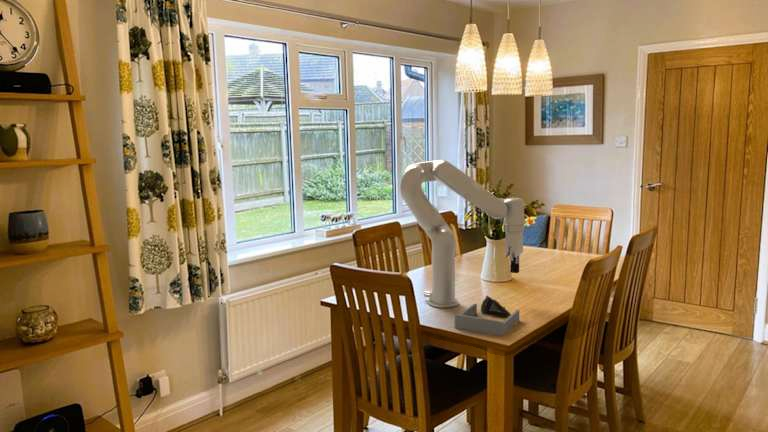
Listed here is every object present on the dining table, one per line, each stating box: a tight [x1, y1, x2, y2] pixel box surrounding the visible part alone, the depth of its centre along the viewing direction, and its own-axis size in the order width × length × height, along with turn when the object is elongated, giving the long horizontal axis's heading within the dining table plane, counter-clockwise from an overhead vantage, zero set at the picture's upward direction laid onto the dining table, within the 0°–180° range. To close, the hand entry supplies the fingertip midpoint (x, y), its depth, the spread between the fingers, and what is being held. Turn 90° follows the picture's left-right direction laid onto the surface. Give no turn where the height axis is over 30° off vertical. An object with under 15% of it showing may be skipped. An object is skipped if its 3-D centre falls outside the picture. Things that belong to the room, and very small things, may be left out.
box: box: [454, 303, 520, 337], centre depth 213 cm, size 18×19×5 cm
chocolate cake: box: [480, 294, 511, 320], centre depth 225 cm, size 10×7×12 cm
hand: (514, 272), depth 236 cm, fingers closed
